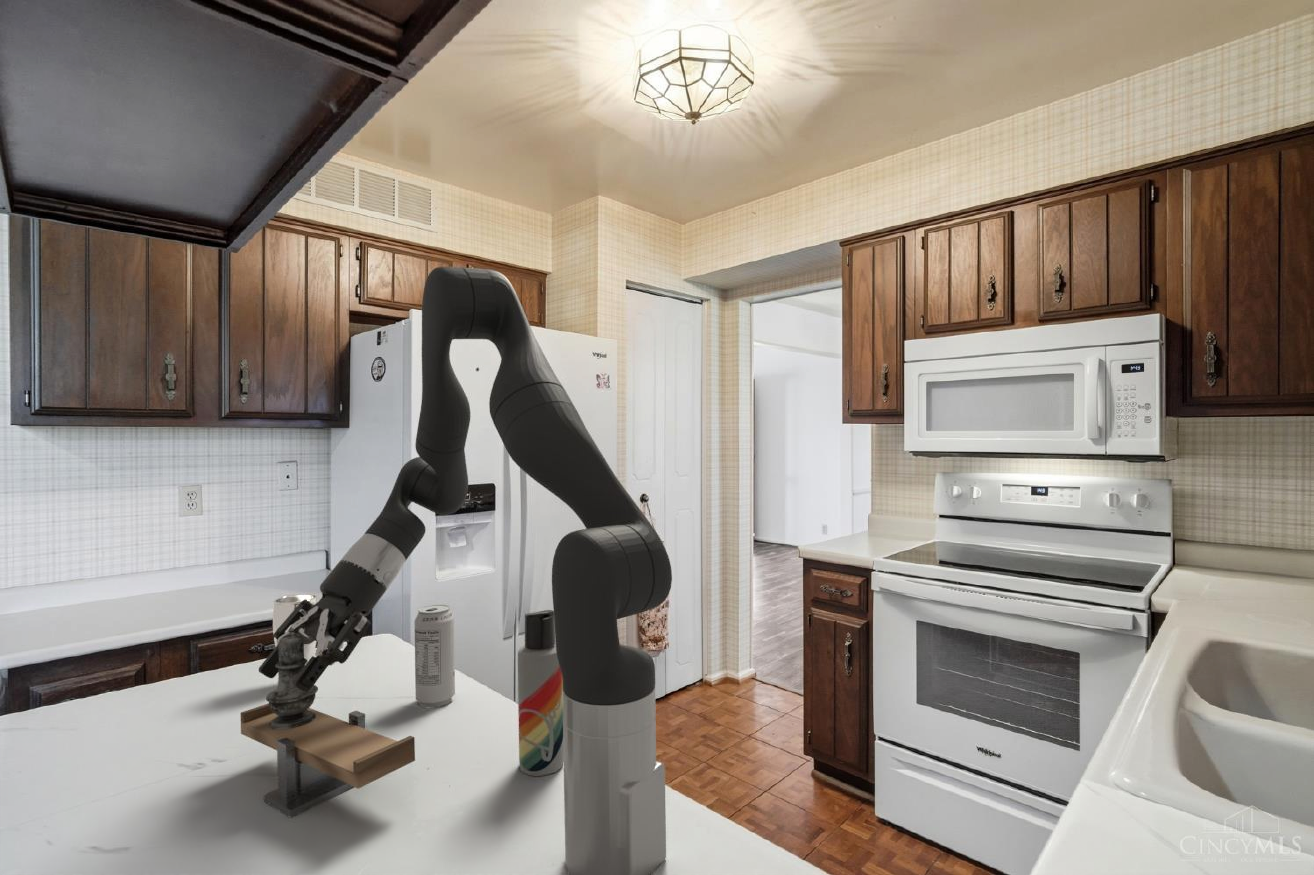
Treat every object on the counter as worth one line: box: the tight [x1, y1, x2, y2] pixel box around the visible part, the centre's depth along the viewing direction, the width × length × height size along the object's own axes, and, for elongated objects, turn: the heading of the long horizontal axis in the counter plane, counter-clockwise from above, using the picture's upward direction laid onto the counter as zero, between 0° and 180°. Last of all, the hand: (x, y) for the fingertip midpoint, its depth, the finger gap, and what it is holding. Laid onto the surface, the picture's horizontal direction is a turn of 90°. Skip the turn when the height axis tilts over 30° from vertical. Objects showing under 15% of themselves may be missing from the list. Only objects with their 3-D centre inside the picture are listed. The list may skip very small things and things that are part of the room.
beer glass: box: [272, 593, 318, 687], centre depth 113 cm, size 7×7×15 cm
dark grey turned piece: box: [265, 627, 319, 730], centre depth 83 cm, size 6×6×12 cm
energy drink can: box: [414, 604, 456, 708], centre depth 104 cm, size 6×6×15 cm
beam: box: [240, 702, 416, 789], centre depth 79 cm, size 26×7×3 cm, turn 57°
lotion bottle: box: [517, 609, 564, 777], centre depth 83 cm, size 6×6×20 cm
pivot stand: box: [263, 710, 366, 818], centre depth 79 cm, size 6×11×7 cm, turn 147°
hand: (281, 681), depth 82 cm, fingers open, 8 cm apart
